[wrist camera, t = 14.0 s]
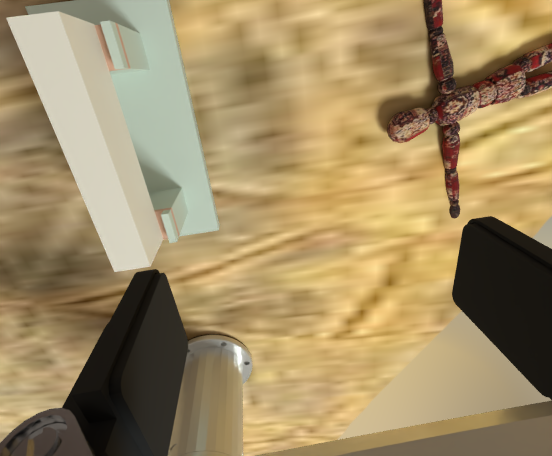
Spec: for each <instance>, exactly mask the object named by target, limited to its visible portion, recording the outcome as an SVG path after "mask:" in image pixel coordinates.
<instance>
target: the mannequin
mask: <svg viewBox="0 0 552 456" xmlns="http://www.w3.org/2000/svg"><path fill="white" fill-rule="evenodd" d="M424 9H425V15H426V22H427V28H428V30H430V31H429V37H430V38H431V39H430V47H431V55H432V63H433V71H434V74H435V76H436V79H437V81H439V82H440V83H439V85H438V90H439V92H440V93H441V94H442V95H440V96H438V97H437V98H435V100H434V102H433V104H432V108H428V109H426V110H425V109H423V108H416V109H411V110H407V111H403V112H400V113H398V114H396V115H395V116H393V117H392V119H391V120H390V122H389V123H388V127H387V133H388V136H389V137H390V138H391V140H393V141H395V142H398V143H403V142H408V141H409V140H411V139H413V138H414V137H416V136H418V135H419V134H421V133H423V132H424V131H426V130H427V128H428V127H429V124H432V123H434V122H436V123H437V124H438V125H440V126H444V127H443V133H444V134H445V135H444V137H443V143H442V149H443V159H444V167H445V172H446V174H445V180H446V190H447V194H448V198H449V200H450V205H451V207H450V215H451V217H452V218H457V217H458V216H459V214H460V206H459V205H458V203H459V201H458V199H459V180H458V173H457V171H456V166H457V161H458V154H459V147H460V138H459V134H458V132H459V131H460V125H459V123H458V122H457V121H459V120H461V119H462V118H464V117H466V116H468V115H469V114H471V113H473V112H474V111H475V110H476V109H477V108H483V107H486V106H488V105H489V104H491V105H492V104H497V103H503V102H507V101H510V100H512V99H514V98H522V97H525V96H527V97H528V96H532V95H534V94H537V93H540V92H542V91H545V90H548V89H550V88H552V72H548V73H545V74H541V75H538V76H534V77H531V78H527V79H526V76H525V73H526V72H530V71H533V70H535V69H537V68H539V67H541V66H543V65H545V64H547V63H549V62H551V61H552V43H551V44H549V45H546V46H544V47H541V48H539V49H536V50H534V51H532V52H529V53H527V54H525V55H524V56H523V57H521V58H518V59H516V60H515V61H514V62H513V63H512V65H509V66H506V67H504V68H501V69H499V70H497V71H496V72H494V73H493V74H491V75H490V76H488V77H487V78H486V79H485V81H481V82H478V83H475V84H474V85H473V86H466V87H462V88H458V89H455V88H456V81H455V79H454V78H451V77H452V76H453V74H454V70H453V61H452V58H451V54H450V51H449V48H448V44H447V41H446V38H445V34H444V33H443V28H442V24H443V12H442V0H424Z"/></svg>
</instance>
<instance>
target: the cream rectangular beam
mask: <svg viewBox="0 0 552 456" xmlns="http://www.w3.org/2000/svg"><path fill="white" fill-rule="evenodd" d="M6 19H7V21H8V24H9V26H10V28H11V31H12V33H13V35H14V38H15V40H16V42H17V45H18V47H19V49H20V52H21V54H22V56H23V59H24V61H25V63H26V66H27V68H28V70H29V73H30V75H31V77H32V80H33V82H34V84H35V87H36V89H37V91H38V94H39V96H40V98H41V101H42V103H43V105H44V108H45V110H46V113H47V115H48V117H49V120H50V122H51V124H52V127H53V129H54V131H55V134H56V136H57V138H58V141H59V143H60V145H61V148H62V150H63V152H64V155H65V157H66V159H67V162H68V164H69V166H70V169H71V171H72V173H73V176H74V178H75V180H76V183H77V185H78V187H79V190H80V192H81V194H82V197H83V199H84V202H85V204H86V206H87V209H88V211H89V213H90V216H91V218H92V220H93V223H94V225H95V227H96V230H97V232H98V234H99V237H100V239H101V241H102V244H103V246H104V248H105V251H106V253H107V255H108V258H109V260H110V262H111V265H112V267H113V269H114V272H118V271H125V270H131V269H137V268H144V267H150V266H151V264H152V262H153V260H154V258H155V256H156V254H157V251H158V249H159V247H160V245H161V243H162V241H163V236H162V233H161V230H160V227H159V224H158V220H157V217H156V214H155V211H154V208H153V205H152V202H151V199H150V196H149V193H148V190H147V186H146V183H145V180H144V177H143V174H142V171H141V168H140V165H139V162H138V159H137V155H136V152H135V149H134V146H133V143H132V140H131V137H130V134H129V131H128V128H127V124H126V121H125V118H124V115H123V112H122V109H121V106H120V103H119V100H118V97H117V93H116V90H115V87H114V84H113V81H112V78H111V75H110V72H109V69H108V66H107V63H106V59H105V56H104V53H103V50H102V47H101V44H100V41H99V38H98V35H97V32H96V28H95V25H94V24H92V23H90V22H87V21H84V20H81V19H79V18H76V17H73V16H70V15H67V14H65V13H62V12H59V11H56V12H48V13H40V14H32V15H24V16H15V17H7V18H6Z"/></svg>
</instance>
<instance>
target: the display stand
mask: <svg viewBox="0 0 552 456" xmlns="http://www.w3.org/2000/svg"><path fill="white" fill-rule="evenodd" d="M25 8H26V10H27V13H28V15H32V14H40V13H48V12H56V11H59V12H62V13H65V14H67V15H70V16H73V17H76V18H79V19H81V20H84V21H87V22H90V23H92V24H94V25H95V28H96V32H97V35H98V38H99V41H100V44H101V47H102V50H103V53H104V56H105V59H106V63H107V66H108V69H109V72H110V75H111V78H112V81H113V84H114V87H115V90H116V93H117V97H118V100H119V103H120V106H121V109H122V112H123V115H124V118H125V121H126V124H127V128H128V131H129V134H130V137H131V140H132V143H133V146H134V149H135V152H136V155H137V159H138V162H139V165H140V168H141V171H142V174H143V177H144V180H145V183H146V186H147V190H148V193H149V196H150V199H151V202H152V205H153V208H154V211H155V214H156V217H157V220H158V224H159V227H160V230H161V233H162V236H163V239H169V243H173V242H177V240H178V238H179V236H185V235H191V234H197V233H204V232H210V231H217V230H219V226H220V225H219V220H218V216H217V211H216V207H215V202H214V198H213V194H212V189H211V185H210V180H209V176H208V171H207V167H206V162H205V158H204V154H203V149H202V145H201V140H200V136H199V131H198V127H197V122H196V118H195V114H194V109H193V105H192V100H191V96H190V91H189V87H188V83H187V78H186V74H185V69H184V65H183V60H182V56H181V51H180V47H179V43H178V38H177V34H176V29H175V25H174V20H173V16H172V11H171V7H170V3H169V0H74V1H66V2H58V3H50V4H42V5H33V6H25Z"/></svg>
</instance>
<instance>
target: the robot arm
mask: <svg viewBox="0 0 552 456" xmlns="http://www.w3.org/2000/svg"><path fill="white" fill-rule="evenodd" d="M452 296H453V300H454V302H455V304H456V305H457V306H458V307H459V308H460V309H461V310H462V311H463V312H464V313H465V314H466V315H467V316H468V317H469V319H471V321H472V322H473V323H475V325H476V326H477V327H478V328H479V329H480V330H481V331H482V332H483V333H484V334H485V335H486V336H487V337H488V338H489V340H490V341H491V342H492V343H493V344H494V345H495V346H496V347H497V348H498V349H499V350H500V351H501V352H502V353H503V354H504V355H505V356H506V357H507V358H508V360H509V361H510V362H511V363H512V364H513V365H514V366H515V367H516V368H517V369H518V370H519V371H520V372H521V373H522V374H523V375H524V376H525V377H526V379H528V381H529V382H530V383H531V384H532V385H533V386H534V387H535V388H536V389H537V390H538V391H539V392H540V393H541V394H542V395H544V396H546V397H549V398H550V399H551V400H552V249H551V248H549V247H547V246H545V245H543V244H542V243H539V242H538V241H536V240H534V239H533V238H531V237H529V236H527V235H525V234H523V233H522V232H520V231H518V230H516V229H514V228H513V227H511V226H509V225H507V224H505V223H504V222H502V221H500V220H498V219H496V218H495V217H492V216H490V217H483V218H476V219H471V220H470V221H469V222H468V224H467V225H465V226H464V228H463V232H462V238H461V244H460V250H459V256H458V262H457V267H456V273H455V279H454V285H453V291H452ZM251 372H252V358H251V354H250V352H249V351H248V349H247V348H246V347H245V346H244V345H243V344H242V343H240V342H239V341H237V340H235V339H233V338H230V337H226V336H221V335H206V336H200V337H197V338H194V339H191V340H189V341H188V339H187V336H186V333H185V330H184V327H183V324H182V321H181V318H180V315H179V312H178V309H177V306H176V303H175V300H174V297H173V294H172V291H171V289H170V286H169V283H168V280H167V277H166V275H165V273H159V271H158V270H156V269H154V270H148V271H142V272H137V273H136V274H135V275H134V277H133V279H132V281H131V283H130V284H129V286H128V288H127V290H126V292H125V294H124V296H123V298H122V300H121V301H120V303H119V305H118V307H117V309H116V311H115V313H114V315H113V316H112V318H111V320H110V322H109V323H108V324H107V325H106V327H105V329H104V331H103V332H102V334H101V336H100V338H99V340H98V342H97V344H96V345H95V347H94V349H93V351H92V353H91V355H90V357H89V359H88V360H87V362H86V364H85V366H84V368H83V370H82V372H81V373H80V375H79V377H78V379H77V381H76V383H75V385H74V386H73V388H72V390H71V392H70V394H69V396H68V398H67V400H66V401H65V403H64V405H63V407H62V408H54V409H49V410H46V411H43V412H40V413H38V414H36V415H34V416H33V417H31V418H29V419H27V420H26V421H24V422H23V423H22V424H20V425H19V426H18V427H16V428H15V429H14V430H13V431H12V432H11V433H10V434H9V435H8V436H7V437H6V438H5V439H4V440H3V441H2V442H1V443H0V456H243V384H244V383H245V382H246V381H247V379H248V378H249V377H250V374H251ZM257 456H552V401H548V402H542V403H536V404H530V405H525V406H519V407H514V408H508V409H502V410H497V411H491V412H486V413H481V414H475V415H470V416H464V417H459V418H453V419H448V420H442V421H437V422H432V423H426V424H421V425H415V426H410V427H405V428H399V429H394V430H388V431H383V432H378V433H372V434H367V435H362V436H357V437H351V438H346V439H340V440H335V441H330V442H325V443H319V444H314V445H309V446H304V447H299V448H293V449H288V450H283V451H278V452H272V453H267V454H262V455H257Z"/></svg>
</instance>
